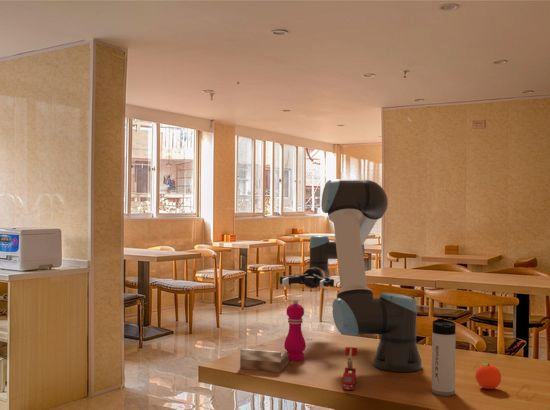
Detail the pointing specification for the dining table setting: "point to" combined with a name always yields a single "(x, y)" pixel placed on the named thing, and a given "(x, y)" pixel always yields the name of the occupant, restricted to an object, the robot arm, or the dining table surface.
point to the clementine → (488, 376)
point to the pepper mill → (295, 332)
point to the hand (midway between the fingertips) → (301, 284)
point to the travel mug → (443, 357)
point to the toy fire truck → (349, 378)
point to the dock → (263, 360)
